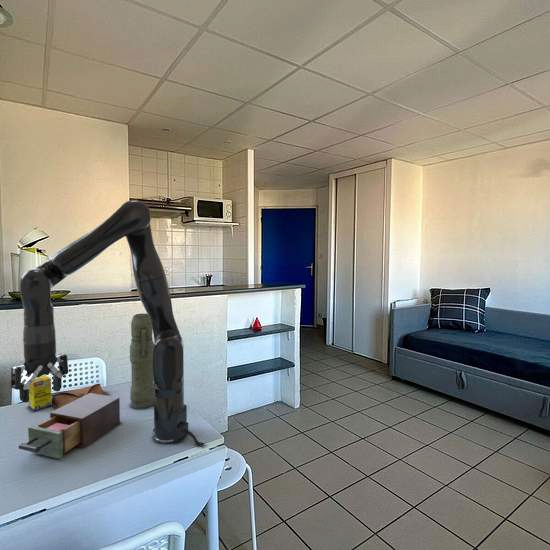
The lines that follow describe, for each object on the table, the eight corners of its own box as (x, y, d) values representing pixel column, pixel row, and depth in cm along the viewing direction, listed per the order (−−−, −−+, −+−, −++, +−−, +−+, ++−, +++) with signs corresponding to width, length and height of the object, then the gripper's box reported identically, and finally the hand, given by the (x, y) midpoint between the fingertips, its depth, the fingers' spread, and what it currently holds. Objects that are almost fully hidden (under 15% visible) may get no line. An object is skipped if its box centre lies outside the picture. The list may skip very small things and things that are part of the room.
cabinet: (83, 447, 105) (82, 418, 105) (51, 440, 109) (49, 412, 108) (120, 423, 120) (119, 397, 120) (90, 417, 124) (89, 392, 123)
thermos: (150, 395, 143) (149, 311, 140) (159, 406, 133) (158, 316, 131) (127, 400, 138) (125, 313, 135) (134, 412, 128) (133, 318, 126)
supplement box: (34, 411, 128) (33, 382, 127) (28, 407, 132) (27, 378, 131) (52, 406, 133) (51, 378, 132) (46, 401, 136) (45, 374, 135)
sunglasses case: (58, 410, 128) (55, 392, 130) (53, 414, 133) (50, 396, 135) (108, 395, 142) (105, 379, 143) (102, 399, 146) (99, 384, 148)
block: (70, 441, 105) (69, 425, 105) (55, 450, 100) (54, 433, 100) (57, 438, 107) (56, 422, 106) (42, 447, 102) (41, 430, 102)
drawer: (43, 469, 94) (42, 443, 93) (11, 461, 97) (10, 436, 96) (99, 433, 112) (98, 411, 112) (71, 427, 115) (70, 406, 115)
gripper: (19, 347, 90) (22, 409, 91) (72, 335, 102) (74, 389, 104) (3, 344, 93) (6, 403, 94) (56, 332, 106) (58, 385, 107)
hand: (41, 396), depth 99 cm, fingers open, 8 cm apart
